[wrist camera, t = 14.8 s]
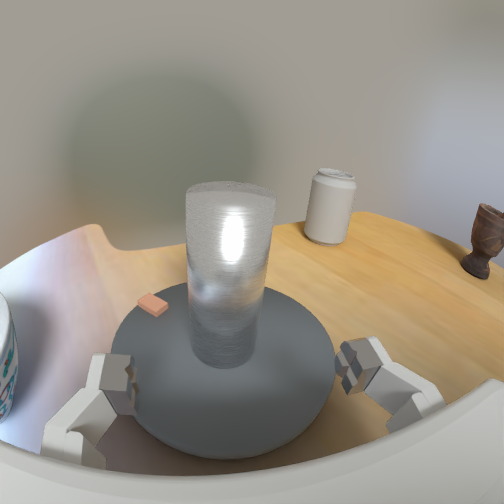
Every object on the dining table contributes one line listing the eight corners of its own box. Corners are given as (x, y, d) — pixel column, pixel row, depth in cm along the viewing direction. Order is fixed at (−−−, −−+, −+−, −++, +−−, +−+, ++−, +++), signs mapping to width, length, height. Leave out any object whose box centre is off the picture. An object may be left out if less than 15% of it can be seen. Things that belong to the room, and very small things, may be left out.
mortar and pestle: (502, 281, 39) (534, 194, 30) (498, 295, 35) (536, 195, 25) (463, 257, 48) (490, 171, 38) (454, 266, 43) (485, 169, 34)
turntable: (350, 334, 26) (358, 314, 24) (272, 502, 11) (280, 496, 10) (200, 275, 32) (199, 256, 31) (77, 369, 18) (66, 349, 17)
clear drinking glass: (234, 379, 18) (249, 216, 12) (178, 349, 20) (167, 194, 14) (266, 337, 22) (289, 193, 16) (214, 314, 24) (219, 177, 18)
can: (294, 232, 49) (304, 165, 43) (323, 227, 52) (335, 166, 47) (323, 251, 43) (338, 178, 37) (352, 243, 47) (367, 178, 41)
